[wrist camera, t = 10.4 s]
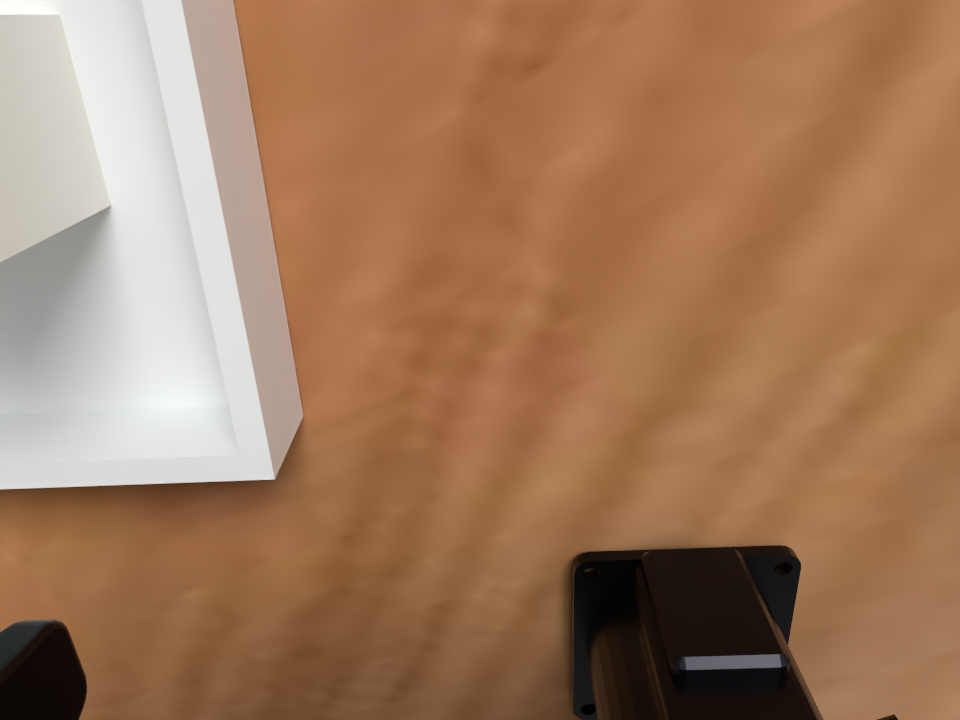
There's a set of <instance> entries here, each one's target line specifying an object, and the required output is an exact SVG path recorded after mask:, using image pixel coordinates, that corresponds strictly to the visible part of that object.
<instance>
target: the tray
mask: <svg viewBox="0 0 960 720" xmlns="http://www.w3.org/2000/svg"><path fill="white" fill-rule="evenodd" d="M54 14H60V16H61V20H62V24H63V27H64V31H65V35H66V39H67V42H68V46H69V50H70V53H71V57H72V61H73V65H74V68H75V72H76V76H77V79H78V83H79V87H80V91H81V94H82V98H83V102H84V105H85V109H86V113H87V117H88V120H89V124H90V128H91V131H92V135H93V139H94V143H95V146H96V150H97V154H98V157H99V161H100V165H101V169H102V172H103V176H104V180H105V183H106V187H107V191H108V195H109V198H110V202H111V206H109V207H107V208H105V209H103V210H101V211H99V212H97V213H95V214H93V215H91V216H90V217H88V218H86V219H84V220H82V221H80V222H78V223H76V224H74V225H72V226H70V227H68V228H66V229H64V230H62V231H60V232H58V233H56V234H54V235H52V236H51V237H49V238H47V239H45V240H43V241H41V242H39V243H37V244H35V245H33V246H31V247H29V248H27V249H25V250H23V251H21V252H19V253H17V254H15V255H13V256H11V257H10V258H8V259H6V260H4V261H2V262H0V489H26V488H53V487H81V486H109V485H136V484H164V483H191V482H219V481H246V480H274V479H275V478H276V476H277V474H278V471H279V469H280V467H281V465H282V463H283V460H284V458H285V456H286V454H287V451H288V449H289V447H290V445H291V443H292V440H293V438H294V436H295V434H296V432H297V429H298V427H299V425H300V423H301V421H302V418H303V411H302V405H301V399H300V393H299V387H298V381H297V375H296V369H295V363H294V358H293V352H292V346H291V340H290V334H289V328H288V322H287V316H286V310H285V304H284V298H283V292H282V287H281V281H280V275H279V269H278V263H277V257H276V251H275V245H274V239H273V233H272V227H271V221H270V215H269V210H268V204H267V198H266V192H265V186H264V180H263V174H262V168H261V162H260V156H259V150H258V144H257V139H256V133H255V127H254V121H253V115H252V109H251V103H250V97H249V91H248V85H247V79H246V73H245V67H244V62H243V56H242V50H241V44H240V38H239V32H238V26H237V20H236V14H235V8H234V2H233V0H0V15H54Z"/></svg>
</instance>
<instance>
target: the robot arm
mask: <svg viewBox="0 0 960 720" xmlns="http://www.w3.org/2000/svg"><path fill="white" fill-rule="evenodd" d="M784 561H785V562H786V563H784V564H783V565H781V566H776V565H777V564H778V563H780V562H784ZM588 568H596V570H595V571H593V572H585V570H586V569H588ZM800 570H801V563H800V561H799V559H798V558H797V556H796V554H795V553H794V551H793V550H792V549H791V548H789V547H787V546H753V547H723V548H693V549H663V550H633V551H602V552H587V553H583V554H581V555H579V556H578V557H577V558H576V559H575V560H574V563H573V592H572V705H573V711H574V714H575V715H576V716H577V717H578V718H580V719H583V720H823V718H822V716H821V714H820V712H819V710H818V708H817V705H816V703H815V701H814V699H813V697H812V695H811V693H810V691H809V689H808V687H807V685H806V682H805V680H804V678H803V676H802V674H801V672H800V670H799V668H798V666H797V664H796V662H795V659H794V657H793V655H792V653H791V651H790V649H789V647H788V641H789V635H790V629H791V623H792V617H793V611H794V606H795V600H796V594H797V588H798V582H799V576H800ZM86 694H87V682H86V676H85V673H84V670H83V668H82V665H81V663H80V660H79V657H78V655H77V652H76V649H75V647H74V644H73V641H72V639H71V636H70V633H69V631H68V629H67V627H66V626H65V625H64V624H63V623H62V622H61V621H58V620H53V619H52V620H25V621H20V622H17V623H14V624H12V625H11V626H9V627H7V628H6V629H4V630H3V631H1V632H0V720H79V718H80V715H81V712H82V710H83V707H84V703H85V699H86ZM878 720H898V719H897V718H896V716H895V715H891V716H888V717H884V718H881V719H878Z"/></svg>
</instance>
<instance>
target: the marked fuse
mask: <svg viewBox="0 0 960 720" xmlns="http://www.w3.org/2000/svg"><path fill="white" fill-rule="evenodd" d="M109 206H111V202H110V198H109V195H108V191H107V187H106V183H105V180H104V176H103V172H102V169H101V165H100V161H99V157H98V154H97V150H96V146H95V143H94V139H93V135H92V131H91V128H90V124H89V120H88V117H87V113H86V109H85V105H84V102H83V98H82V94H81V91H80V87H79V83H78V79H77V76H76V72H75V68H74V65H73V61H72V57H71V53H70V50H69V46H68V42H67V39H66V35H65V31H64V27H63V24H62V20H61V16H60V14H54V15H0V262H2V261H4V260H6V259H8V258H10V257H11V256H13V255H15V254H17V253H19V252H21V251H23V250H25V249H27V248H29V247H31V246H33V245H35V244H37V243H39V242H41V241H43V240H45V239H47V238H49V237H51V236H52V235H54V234H56V233H58V232H60V231H62V230H64V229H66V228H68V227H70V226H72V225H74V224H76V223H78V222H80V221H82V220H84V219H86V218H88V217H90V216H91V215H93V214H95V213H97V212H99V211H101V210H103V209H105V208H107V207H109Z"/></svg>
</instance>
